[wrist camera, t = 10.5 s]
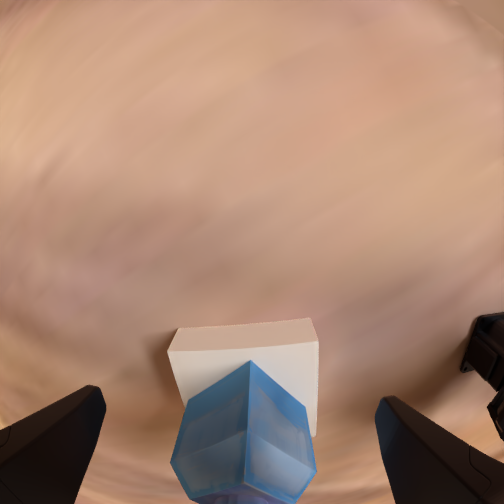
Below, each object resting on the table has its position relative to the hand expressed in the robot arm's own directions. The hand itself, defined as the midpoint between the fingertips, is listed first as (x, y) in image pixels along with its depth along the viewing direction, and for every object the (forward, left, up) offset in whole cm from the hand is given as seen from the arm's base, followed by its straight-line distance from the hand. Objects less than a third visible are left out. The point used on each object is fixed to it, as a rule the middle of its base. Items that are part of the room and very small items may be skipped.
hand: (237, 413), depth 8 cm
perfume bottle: (0, +9, -10) cm, 14 cm away
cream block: (0, +9, -14) cm, 16 cm away
